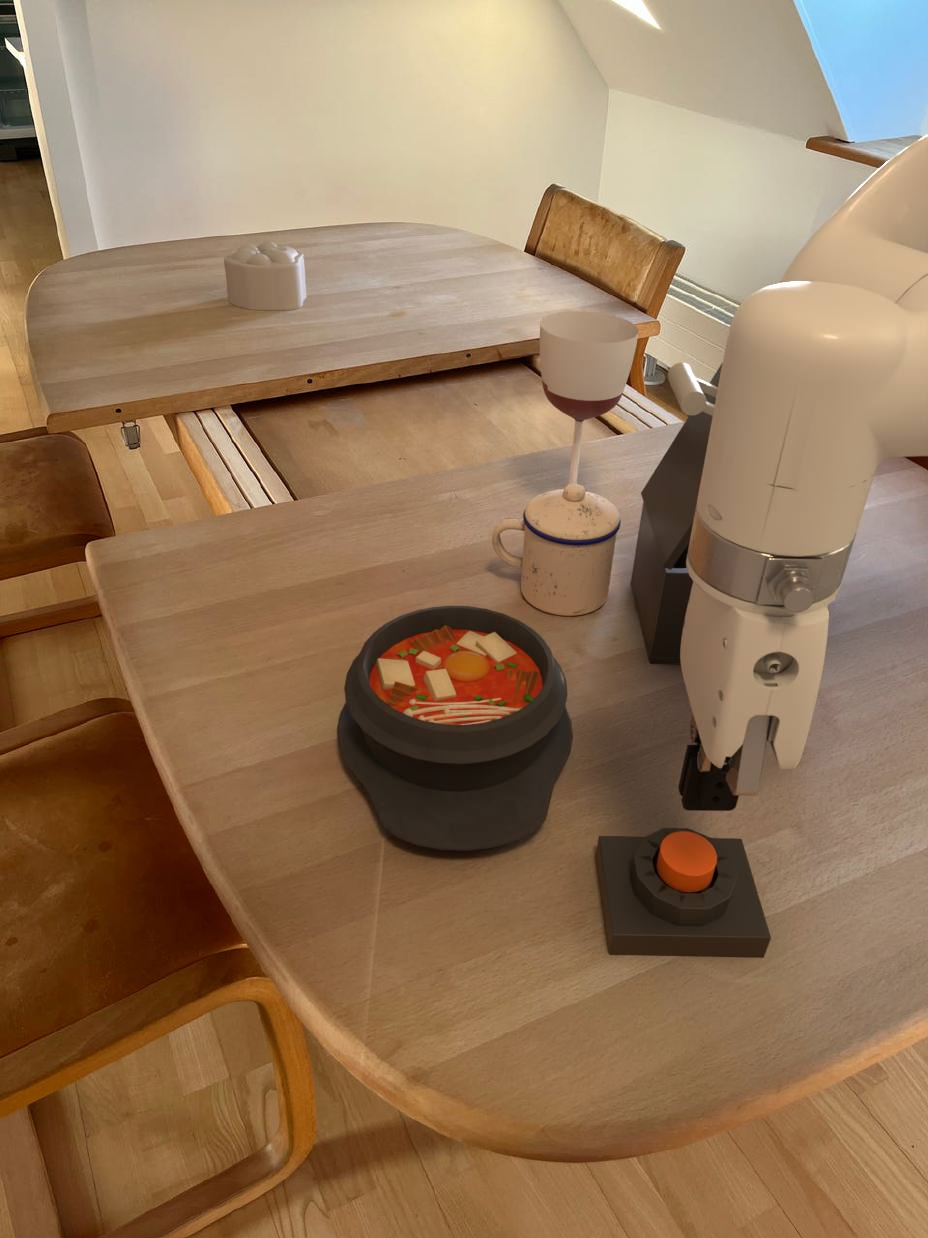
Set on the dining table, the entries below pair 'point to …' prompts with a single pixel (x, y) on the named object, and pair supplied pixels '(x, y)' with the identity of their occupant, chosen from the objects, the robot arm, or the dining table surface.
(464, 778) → the casserole
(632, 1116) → the dining table surface
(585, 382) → the wineglass
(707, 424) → the lid
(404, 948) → the dining table surface
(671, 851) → the button
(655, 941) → the control block
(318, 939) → the dining table surface
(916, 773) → the dining table surface
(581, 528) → the teacup with lid
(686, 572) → the grey hinged-lid box
